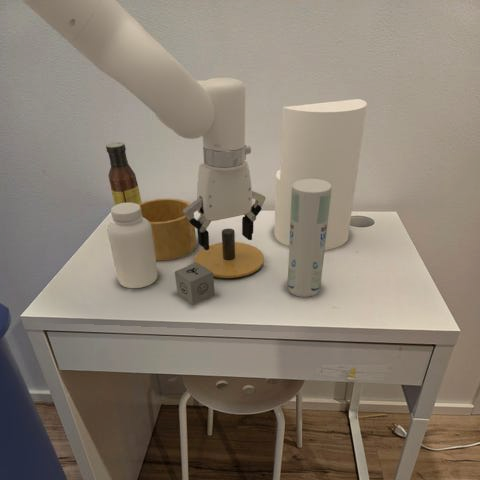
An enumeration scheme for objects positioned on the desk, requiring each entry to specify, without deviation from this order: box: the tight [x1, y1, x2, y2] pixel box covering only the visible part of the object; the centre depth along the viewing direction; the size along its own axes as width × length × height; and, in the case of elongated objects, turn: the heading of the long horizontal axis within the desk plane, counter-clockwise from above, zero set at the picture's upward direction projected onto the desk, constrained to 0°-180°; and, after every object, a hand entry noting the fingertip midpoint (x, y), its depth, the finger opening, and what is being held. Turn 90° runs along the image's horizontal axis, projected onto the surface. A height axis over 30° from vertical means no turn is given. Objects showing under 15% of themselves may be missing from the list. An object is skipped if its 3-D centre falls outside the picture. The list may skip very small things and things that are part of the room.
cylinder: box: [273, 98, 368, 251], centre depth 94 cm, size 17×17×28 cm
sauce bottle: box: [105, 141, 143, 206], centre depth 101 cm, size 7×6×20 cm
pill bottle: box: [107, 203, 159, 289], centre depth 83 cm, size 8×8×15 cm
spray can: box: [287, 179, 332, 298], centre depth 77 cm, size 6×6×20 cm
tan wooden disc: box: [193, 228, 265, 279], centre depth 90 cm, size 15×15×7 cm
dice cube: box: [174, 262, 215, 306], centre depth 81 cm, size 5×5×5 cm
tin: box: [138, 198, 197, 261], centre depth 96 cm, size 14×14×8 cm
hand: (226, 242), depth 89 cm, fingers open, 9 cm apart
